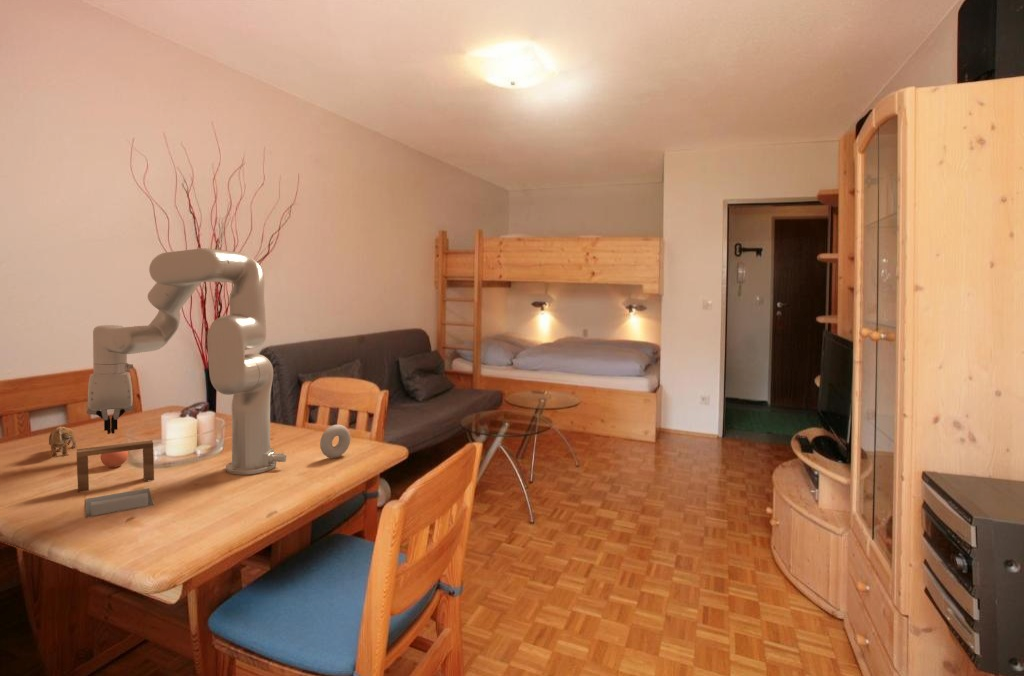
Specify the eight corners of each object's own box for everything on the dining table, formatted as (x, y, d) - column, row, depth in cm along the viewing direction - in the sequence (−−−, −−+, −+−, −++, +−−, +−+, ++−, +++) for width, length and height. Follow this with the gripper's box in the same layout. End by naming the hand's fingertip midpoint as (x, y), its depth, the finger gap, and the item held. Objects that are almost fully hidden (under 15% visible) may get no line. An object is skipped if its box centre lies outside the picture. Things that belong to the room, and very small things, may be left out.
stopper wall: (91, 513, 114) (91, 502, 114) (147, 503, 120) (147, 492, 120) (91, 516, 112) (91, 505, 112) (148, 506, 119) (148, 495, 118)
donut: (324, 462, 152) (324, 428, 151) (317, 460, 154) (317, 426, 153) (352, 454, 160) (353, 422, 159) (345, 452, 162) (345, 420, 161)
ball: (133, 462, 147) (132, 441, 146) (120, 469, 141) (119, 448, 140) (109, 463, 146) (108, 441, 145) (95, 470, 140) (95, 448, 140)
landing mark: (85, 499, 121) (85, 498, 121) (149, 489, 129) (149, 488, 128) (85, 517, 112) (85, 517, 112) (153, 505, 119) (153, 504, 119)
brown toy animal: (72, 458, 149) (71, 427, 148) (47, 461, 146) (46, 429, 145) (77, 445, 161) (76, 416, 160) (55, 447, 158) (53, 418, 157)
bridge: (78, 488, 127) (76, 449, 127) (152, 476, 137) (152, 440, 136) (78, 492, 125) (76, 452, 124) (154, 479, 134) (153, 442, 134)
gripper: (141, 366, 156) (141, 426, 158) (76, 368, 147) (77, 432, 149) (143, 369, 151) (143, 432, 152) (75, 372, 141) (76, 439, 143)
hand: (110, 432), depth 150 cm, fingers closed
